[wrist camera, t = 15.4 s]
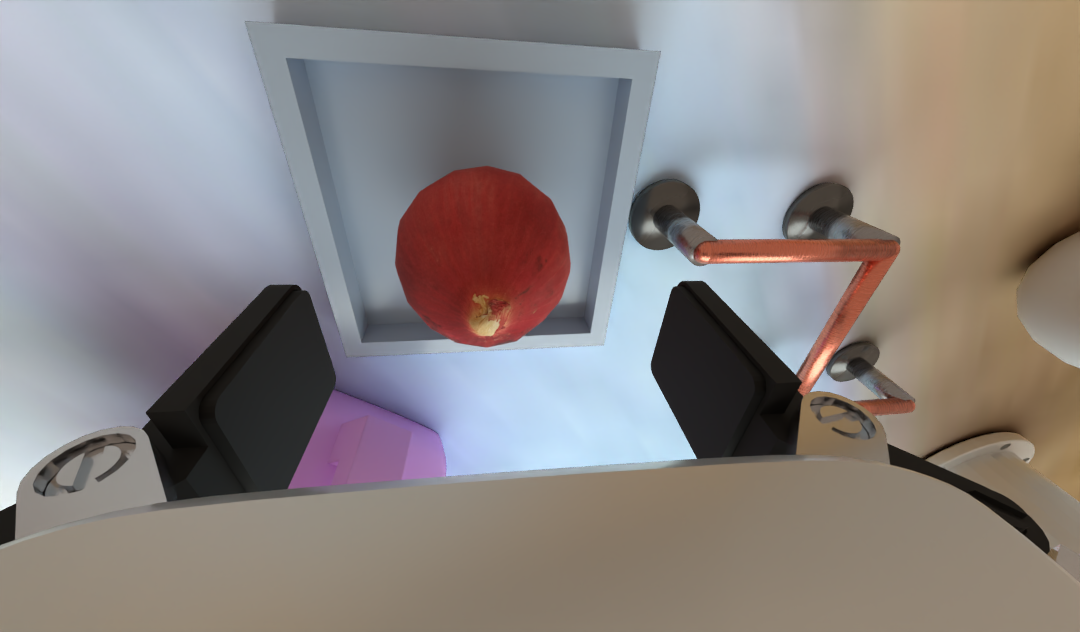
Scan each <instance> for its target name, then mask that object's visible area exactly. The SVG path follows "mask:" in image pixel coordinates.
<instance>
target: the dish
mask: <svg viewBox="0 0 1080 632" xmlns="http://www.w3.org/2000/svg"><path fill="white" fill-rule="evenodd" d="M245 24H246V27H247V30H248V34H249V37H250V40H251V44H252V47H253V50H254V54H255V57H256V60H257V63H258V67H259V70H260V73H261V77H262V80H263V83H264V87H265V90H266V93H267V96H268V100H269V103H270V106H271V110H272V113H273V116H274V120H275V123H276V126H277V129H278V133H279V136H280V139H281V143H282V146H283V149H284V153H285V156H286V159H287V162H288V166H289V169H290V172H291V176H292V179H293V182H294V186H295V189H296V192H297V195H298V199H299V202H300V205H301V209H302V212H303V215H304V219H305V222H306V225H307V228H308V232H309V235H310V238H311V242H312V245H313V248H314V252H315V255H316V258H317V261H318V265H319V268H320V271H321V275H322V278H323V281H324V285H325V288H326V291H327V294H328V298H329V301H330V304H331V308H332V311H333V314H334V318H335V321H336V324H337V328H338V331H339V334H340V337H341V341H342V344H343V347H344V351H345V354H346V357H368V356H389V355H410V354H431V353H452V352H473V351H494V350H515V349H536V348H557V347H579V346H600V345H604V342H605V337H606V332H607V326H608V321H609V316H610V311H611V306H612V301H613V295H614V290H615V285H616V280H617V275H618V270H619V264H620V259H621V254H622V249H623V244H624V239H625V233H626V228H627V223H628V218H629V213H630V208H631V202H632V197H633V192H634V187H635V182H636V177H637V172H638V166H639V161H640V156H641V151H642V146H643V141H644V135H645V130H646V125H647V120H648V115H649V110H650V104H651V99H652V94H653V89H654V84H655V79H656V73H657V68H658V63H659V58H660V53H661V51H649V50H636V49H622V48H608V47H595V46H581V45H567V44H554V43H540V42H526V41H512V40H499V39H485V38H471V37H458V36H444V35H430V34H416V33H403V32H389V31H375V30H362V29H348V28H334V27H320V26H307V25H293V24H279V23H266V22H252V21H245ZM482 166H491V167H495V168H499V169H502V170H506V171H510V172H514V173H518V174H521V175H522V176H523V177H524V178H525V179H527V180H528V181H529V182H530V183H532V184H533V185H534V186H535V187H536V188H538V189H539V190H540V191H541V192H543V193H544V194H545V195H546V196H548V197H549V198H550V199H551V200H552V202H553V204H554V206H555V208H556V210H557V212H558V214H559V216H560V218H561V219H562V221H563V223H564V225H565V228H566V232H567V236H568V244H569V253H570V262H571V267H570V274H569V277H568V280H567V283H566V286H565V289H564V293H563V296H562V298H561V300H560V302H559V303H558V304H557V305H556V307H555V308H554V309H553V310H552V311H551V312H550V313H549V315H548V316H547V317H546V318H545V320H544V321H543V322H541V323H540V324H539V325H537V326H536V327H535V328H533V329H532V330H531V331H529V332H528V333H527V334H525V335H524V336H523V337H522V338H520V339H519V340H518V341H516V342H511V343H506V344H502V345H497V346H492V347H488V348H485V347H479V346H472V345H466V344H460V343H456V342H454V341H452V340H450V339H448V338H446V337H445V336H443V335H441V334H439V333H438V332H436V331H434V330H432V329H431V328H430V327H429V326H428V325H427V324H426V323H425V322H424V321H423V320H422V318H421V317H420V316H419V315H418V314H417V313H416V311H415V310H414V309H413V308H412V307H411V306H410V305H409V303H408V302H407V299H406V297H405V294H404V291H403V288H402V285H401V282H400V279H399V277H398V274H397V270H396V266H395V256H396V244H397V232H398V226H399V222H400V219H401V218H402V216H403V215H404V213H405V212H406V210H407V209H408V207H409V206H410V205H411V203H412V202H413V200H414V199H415V197H416V196H417V194H418V193H419V192H420V191H421V190H423V189H424V188H426V187H427V186H429V185H430V184H432V183H434V182H436V181H437V180H439V179H441V178H442V177H444V176H446V175H447V174H449V173H451V172H452V171H454V170H461V169H468V168H475V167H482Z"/></svg>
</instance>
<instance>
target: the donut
mask: <svg viewBox="0 0 1080 632" xmlns="http://www.w3.org/2000/svg"><path fill="white" fill-rule="evenodd" d="M1017 313H1018V318H1019V319H1020V321H1021V322H1022V324H1023V325H1024V327H1025V328H1026V330H1027V331H1028V333H1029V334H1030V336H1031V337H1032V339H1033V340H1034V341H1035V342H1037V343H1038V344H1039V345H1041V346H1042V347H1044V348H1045V349H1046V350H1048V351H1049V352H1051V353H1052V354H1054V355H1055V356H1056V357H1058V358H1059V359H1061V360H1062V361H1063V362H1065V363H1067V364H1070V365H1073V366H1075V367H1078V368H1080V231H1079V232H1077V233H1075V234H1073V235H1071V236H1069V237H1067V238H1066V239H1064V240H1062V241H1060V242H1058V243H1056V244H1055V245H1053V246H1052V247H1051V248H1050V249H1049V250H1047V251H1046V252H1045V253H1044V254H1043V255H1042V256H1041V257H1039V258H1038V259H1037V260H1036V261H1035V262H1034V263H1033V264H1031V265H1030V266H1029V267H1028V269H1027V271H1026V273H1025V275H1024V277H1023V278H1022V280H1021V282H1020V284H1019V286H1018V288H1017Z"/></svg>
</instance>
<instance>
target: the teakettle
mask: <svg viewBox="0 0 1080 632" xmlns="http://www.w3.org/2000/svg"><path fill="white" fill-rule="evenodd" d="M433 477H446V458H445V453H444V449H443V445H442V442H441V439H440V437H439V435H438V434H437V433H436V432H434V431H433V430H431V429H429V428H427V427H425V426H423V425H420V424H418V423H416V422H414V421H412V420H409V419H407V418H404V417H402V416H400V415H397V414H395V413H393V412H390V411H388V410H385V409H383V408H380V407H378V406H375V405H373V404H371V403H368V402H365V401H363V400H360V399H358V398H355V397H352V396H350V395H347V394H344V393H342V392H339V391H336V390H333V391H332V394H331V396H330V398H329V400H328V402H327V404H326V407H325V409H324V411H323V413H322V415H321V417H320V420H319V422H318V424H317V426H316V428H315V431H314V433H313V435H312V437H311V439H310V441H309V444H308V446H307V448H306V450H305V452H304V454H303V457H302V459H301V461H300V463H299V465H298V467H297V470H296V472H295V474H294V476H293V478H292V481H291V483H290V485H289V487H288V489H294V488H304V487H317V486H330V485H343V484H355V483H368V482H381V481H394V480H407V479H420V478H433Z"/></svg>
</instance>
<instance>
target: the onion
mask: <svg viewBox="0 0 1080 632" xmlns="http://www.w3.org/2000/svg"><path fill="white" fill-rule="evenodd" d="M395 266H396V270H397V274H398V277H399V279H400V282H401V285H402V288H403V291H404V294H405V297H406V299H407V302H408V303H409V305H410V306H411V307H412V308H413V309H414V310H415V311H416V313H417V314H418V315H419V316H420V317H421V318H422V320H423V321H424V322H425V323H426V324H427V325H428V326H429V327H430V328H431V329H432V330H434V331H436V332H438V333H439V334H441V335H443V336H445V337H446V338H448V339H450V340H452V341H454V342H456V343H460V344H466V345H472V346H479V347H485V348H488V347H492V346H497V345H502V344H506V343H511V342H516V341H518V340H519V339H520V338H522V337H523V336H524V335H525V334H527V333H528V332H529V331H531V330H532V329H533V328H535V327H536V326H537V325H539V324H540V323H541V322H543V321H544V320H545V318H546V317H547V316H548V315H549V313H550V312H551V311H552V310H553V309H554V308H555V307H556V305H557V304H558V303H559V302H560V300H561V298H562V296H563V293H564V289H565V286H566V283H567V280H568V277H569V274H570V267H571V262H570V253H569V244H568V236H567V232H566V228H565V225H564V223H563V221H562V219H561V218H560V216H559V214H558V212H557V210H556V208H555V206H554V204H553V202H552V200H551V199H550V198H549V197H548V196H546V195H545V194H544V193H543V192H541V191H540V190H539V189H538V188H536V187H535V186H534V185H533V184H532V183H530V182H529V181H528V180H527V179H525V178H524V177H523V176H522V175H521V174H518V173H514V172H510V171H506V170H502V169H499V168H495V167H491V166H482V167H475V168H468V169H461V170H454V171H452V172H451V173H449V174H447V175H446V176H444V177H442V178H441V179H439V180H437V181H436V182H434V183H432V184H430V185H429V186H427V187H426V188H424V189H423V190H421V191H420V192H419V193H418V194H417V196H416V197H415V199H414V200H413V202H412V203H411V205H410V206H409V207H408V209H407V210H406V212H405V213H404V215H403V216H402V218H401V219H400V222H399V226H398V232H397V244H396V256H395Z"/></svg>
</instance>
